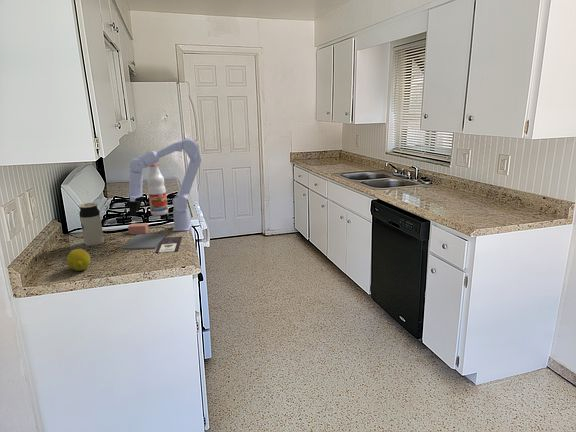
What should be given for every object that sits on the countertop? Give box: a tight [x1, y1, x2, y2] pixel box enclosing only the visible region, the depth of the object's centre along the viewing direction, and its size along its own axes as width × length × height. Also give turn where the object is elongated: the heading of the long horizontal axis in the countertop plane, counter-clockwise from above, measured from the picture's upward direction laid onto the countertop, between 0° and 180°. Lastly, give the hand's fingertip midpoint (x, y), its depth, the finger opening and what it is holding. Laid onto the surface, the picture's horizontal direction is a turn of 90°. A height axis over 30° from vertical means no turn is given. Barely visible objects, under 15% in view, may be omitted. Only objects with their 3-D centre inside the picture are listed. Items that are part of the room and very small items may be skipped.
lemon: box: [66, 248, 91, 272], centre depth 149 cm, size 11×8×8 cm
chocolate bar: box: [155, 235, 183, 254], centre depth 173 cm, size 9×1×18 cm
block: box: [127, 222, 150, 235], centre depth 191 cm, size 8×4×4 cm, turn 91°
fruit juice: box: [146, 163, 169, 216], centre depth 219 cm, size 9×9×28 cm
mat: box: [121, 233, 168, 250], centre depth 178 cm, size 18×14×1 cm
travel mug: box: [78, 202, 105, 247], centre depth 175 cm, size 8×8×18 cm
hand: (135, 213), depth 186 cm, fingers open, 7 cm apart
